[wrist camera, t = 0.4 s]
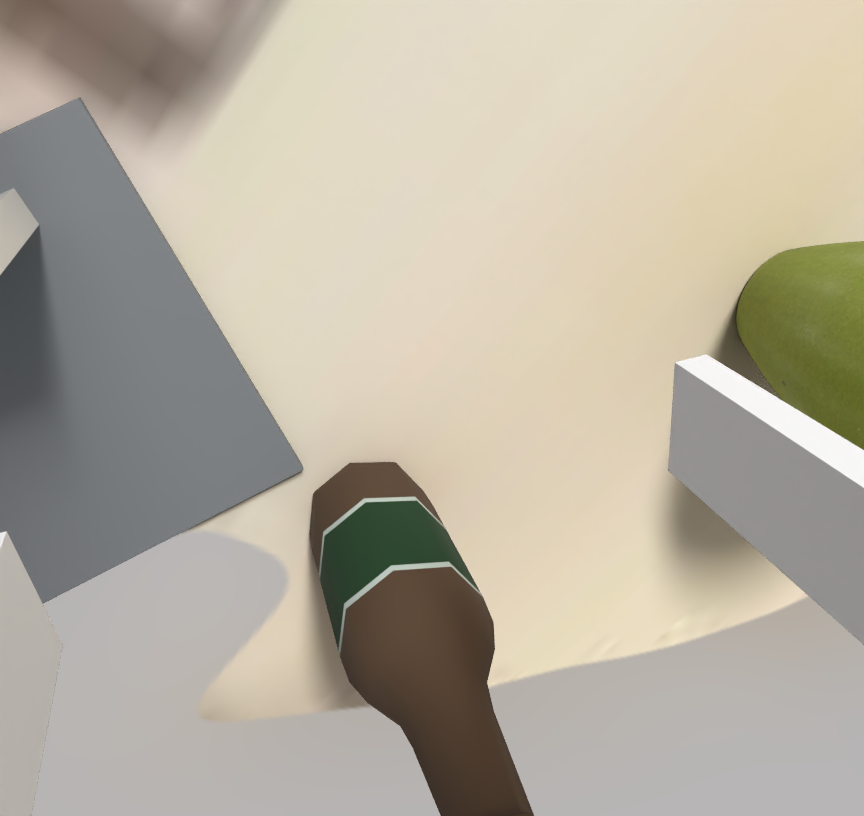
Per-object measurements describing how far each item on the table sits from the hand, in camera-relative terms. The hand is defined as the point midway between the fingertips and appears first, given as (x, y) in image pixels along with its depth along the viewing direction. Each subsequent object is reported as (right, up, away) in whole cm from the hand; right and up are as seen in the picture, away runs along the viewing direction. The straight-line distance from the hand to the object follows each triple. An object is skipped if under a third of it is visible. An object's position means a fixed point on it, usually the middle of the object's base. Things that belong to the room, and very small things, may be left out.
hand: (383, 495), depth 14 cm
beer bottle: (-3, -5, +32) cm, 33 cm away
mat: (-19, +3, +23) cm, 30 cm away
